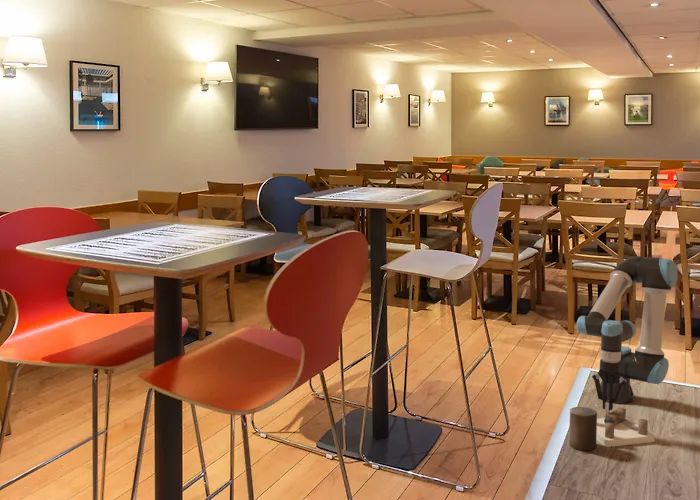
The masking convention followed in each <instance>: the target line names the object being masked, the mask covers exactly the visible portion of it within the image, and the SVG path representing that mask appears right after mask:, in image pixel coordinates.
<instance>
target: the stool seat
mask: <svg viewBox="0 0 700 500" xmlns="http://www.w3.org/2000/svg"><path fill="white" fill-rule="evenodd" d="M604 419H605V417H602V418H597V435H596V441H598V443H600V444H602V445H603V446H604V447H606V448H610V447H611V446H612V447H620V446H630V445H638V444H639V445H641V444H648V443H655V442H656V441H655V437H656V435H654V434H653V433H651V432H650V431H648V429H649V428H648V426H649V425H648V423H649V420H647V419H643V418H641V419H640V418H639V419H638V424H637V423H635V422H633V421H632V420H630V419H629V418H627V417H626V420H624V421H622V422H621V423H619V424H617V425H616V426H614V424H613V423H605V422H604Z"/></svg>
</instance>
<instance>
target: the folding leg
mask: <svg viewBox="0 0 700 500" xmlns="http://www.w3.org/2000/svg"><path fill="white" fill-rule="evenodd" d="M626 416H627V409H626V408H625V407H617V408H616V409H614V410H613V411H610V413H609V414H607V415H606V418H605V417H604V418H605V419H604V422H605V423H613V424H614V426H616V425H617V424H619V423H621V422H622V421H624V420H626V418H627V417H626Z"/></svg>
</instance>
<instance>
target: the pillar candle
mask: <svg viewBox="0 0 700 500" xmlns="http://www.w3.org/2000/svg"><path fill="white" fill-rule="evenodd" d="M597 419H598V411H597V410H595V409H594V408H591V407H587V406H573V407H571V408H570V409H569V435H568V437H569V439H568V441H569V442H568V444H569V447H571V448H572V449H574V450H578V451H583V452H589V451H594V450H596V449H597V440H596V435H597Z"/></svg>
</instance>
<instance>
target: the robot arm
mask: <svg viewBox="0 0 700 500" xmlns="http://www.w3.org/2000/svg"><path fill="white" fill-rule="evenodd" d="M678 278H679V277H678V267H677V265H676V263H675V261H673V259H669V258H663V257H649V256H639V255H638V256H636V255H635V256H631V257H629V258H626V259H625V260H623V261H621V262H620V263H619V264H617V265H616V266H615V268H614V269H613V270H612V272H610V275H609V280H608V282H607V283H606V285H605V287H604V288H603V290H602V292H601V293H600V295H599V297H598V299H597V300H596V302H595V303H594V305H593V307H591V310H590V311H589V313H588V315H580V316H579V317H578V318H577V321H576V330H577V332H578V333H579V334H582V335H586V336H591V337H592V336H593V337H599V338H601V339H600V340H601V341H600V352H599V353H600V357H599V358H600V361H599V369H598V371H597V373H594V374H593V375H592V379H593V381H594V384H595V386H594V387H595V389H596V394H597V399H598V400H600V401H602V410H604V418H606V415H607V414H609V413H611V411H612V410H613V408H614V404H628V403H631V402H634V399H635V398H634V396H635V395H634V391H633V388H632V385H631V380H634V381H639V382H643V383H644V382H645V383H647V384H655V385H659V384H661V383H662V382H663V381H664V380H665V379H666V376H667V374H668V371H669V366H670V365H669V363H670V362H669V359H668V358H666V357H665V352H664V351H663V350H662V343H663V341H662V340H663V334H664V333H663V331H664V323H665V315H666V313H665V312H666V303H667V294H669V293H670V292H671V291H672V287H673V288H674V287H675V286H676V285H677V282H678ZM634 283H636V284H637V283H638V284H641V289H642V290H643V291H644V298H643V307H642V308H643V309H642V318H641V326H640V327H641V329H640V335H639V336H640V337H639V346H638V347H636V349H635V351H634V352H633V351H632V348H631V347H629V346H625V345H624V346H622V344H623V343H624V342H626V341H628V340H631V339H632V338H633V337H634V336H635V335H636V332H637V328H636V326H635V324H634V323H633V322H632V321H630V320H627V319H626V320H619V321H618V320H612V319H609V318H610V316H611V315H612V313H613V311H614V310H615V308H616V306H617V304H618V303H619V301H620V299H621V297H622V296H623V295H624V293H625V292H626V289H627V288H630V287H631V286H632V284H634ZM600 380H601V382H600Z"/></svg>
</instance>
